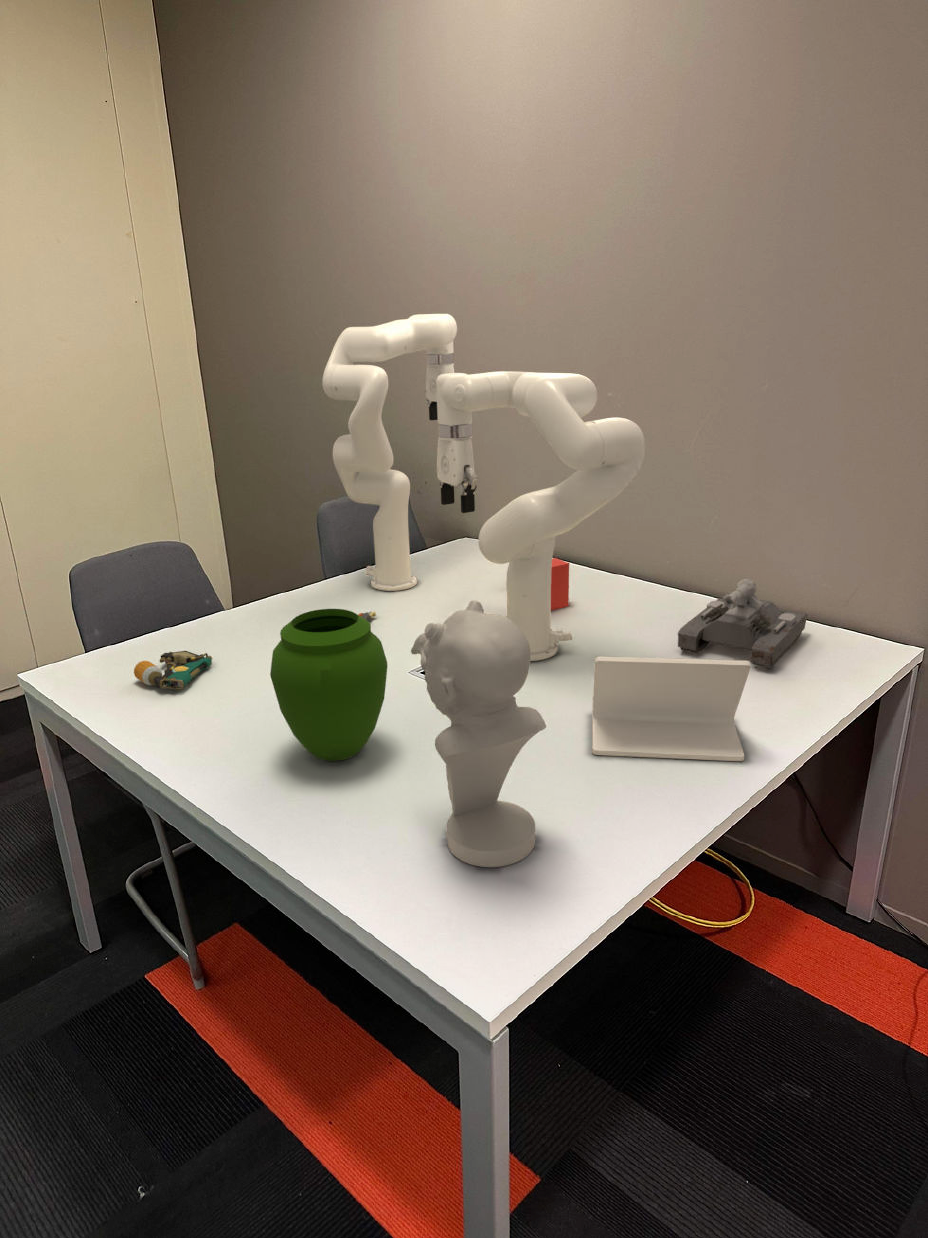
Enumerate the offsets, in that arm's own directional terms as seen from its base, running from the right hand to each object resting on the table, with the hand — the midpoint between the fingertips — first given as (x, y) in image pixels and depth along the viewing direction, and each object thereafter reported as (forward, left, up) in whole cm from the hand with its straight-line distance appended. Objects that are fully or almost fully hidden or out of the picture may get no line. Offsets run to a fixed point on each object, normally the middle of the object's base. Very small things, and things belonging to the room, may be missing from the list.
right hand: (457, 507), depth 193 cm
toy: (-57, +29, -29) cm, 70 cm away
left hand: (-9, -62, +11) cm, 64 cm away
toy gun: (+27, -5, -29) cm, 40 cm away
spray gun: (+64, +11, -29) cm, 71 cm away
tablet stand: (-23, +62, -29) cm, 72 cm away
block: (-24, -7, -29) cm, 38 cm away
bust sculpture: (+17, +82, -29) cm, 89 cm away
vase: (+34, +53, -29) cm, 69 cm away
